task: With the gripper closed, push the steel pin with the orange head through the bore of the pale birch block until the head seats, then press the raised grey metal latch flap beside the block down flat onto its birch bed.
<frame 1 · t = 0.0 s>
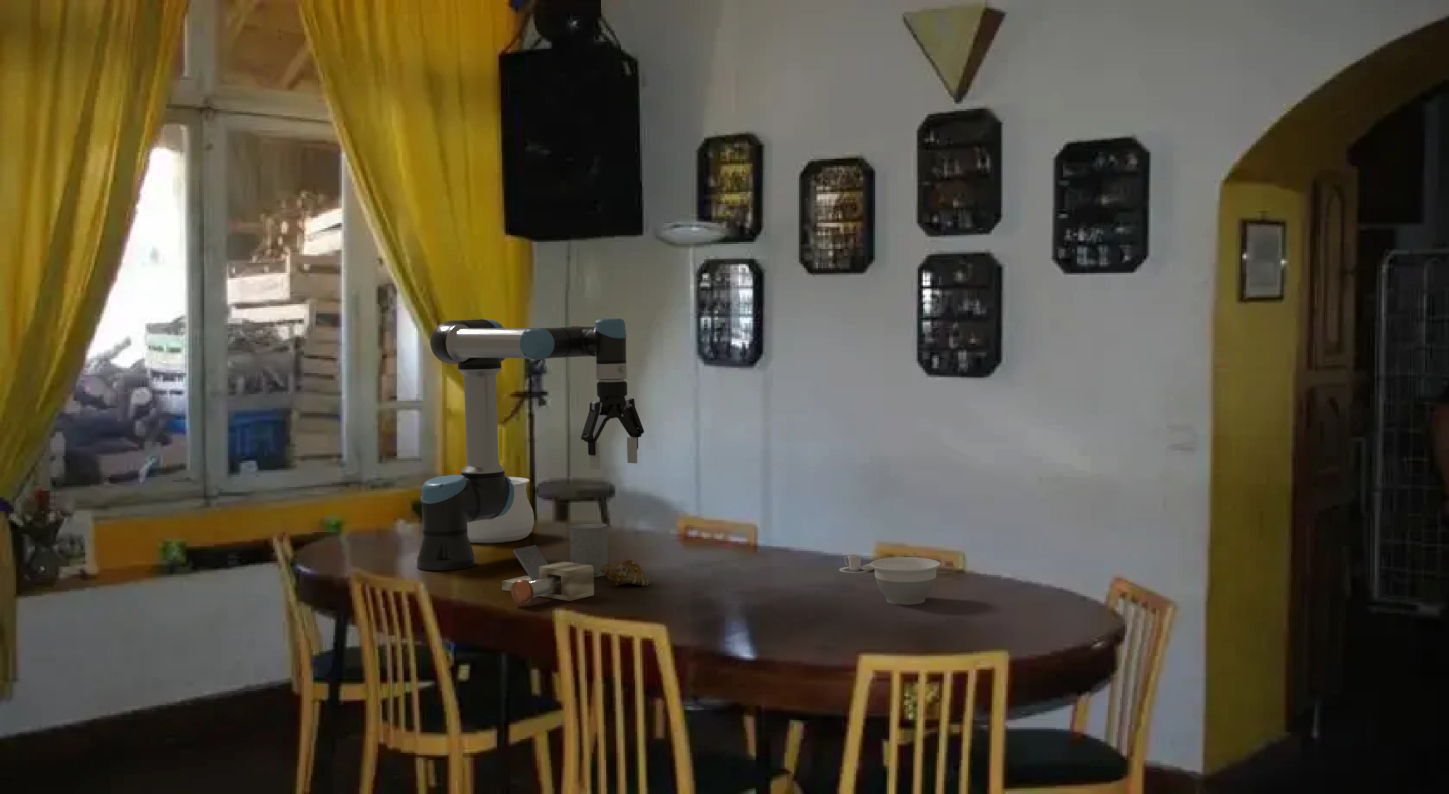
hand: (613, 465, 362), 28 cm above the table, fingers open, 13 cm apart
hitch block: (566, 595, 342), on the table
pin: (541, 587, 336), point 3 cm above the table, slide at -9.0 cm
latch flap: (535, 565, 348), point 6 cm above the table, hinge at 45.0°
bowl: (905, 601, 329), on the table
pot: (492, 538, 429), on the table
seashell: (625, 586, 354), on the table
grey stone cylinder: (589, 574, 370), on the table
teacup and saucer: (859, 574, 365), on the table
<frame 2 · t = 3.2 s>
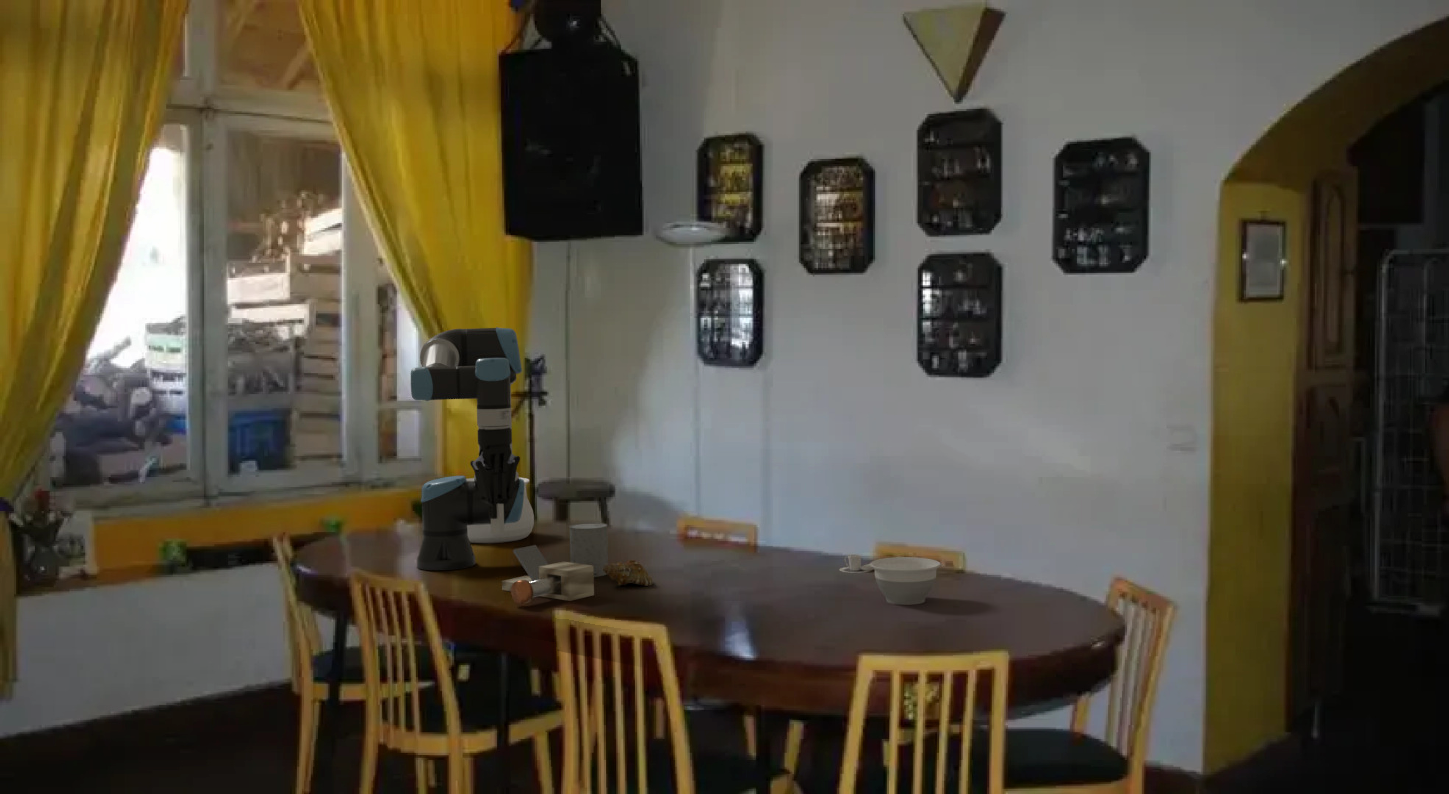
hand: (497, 532, 325), 18 cm above the table, fingers closed
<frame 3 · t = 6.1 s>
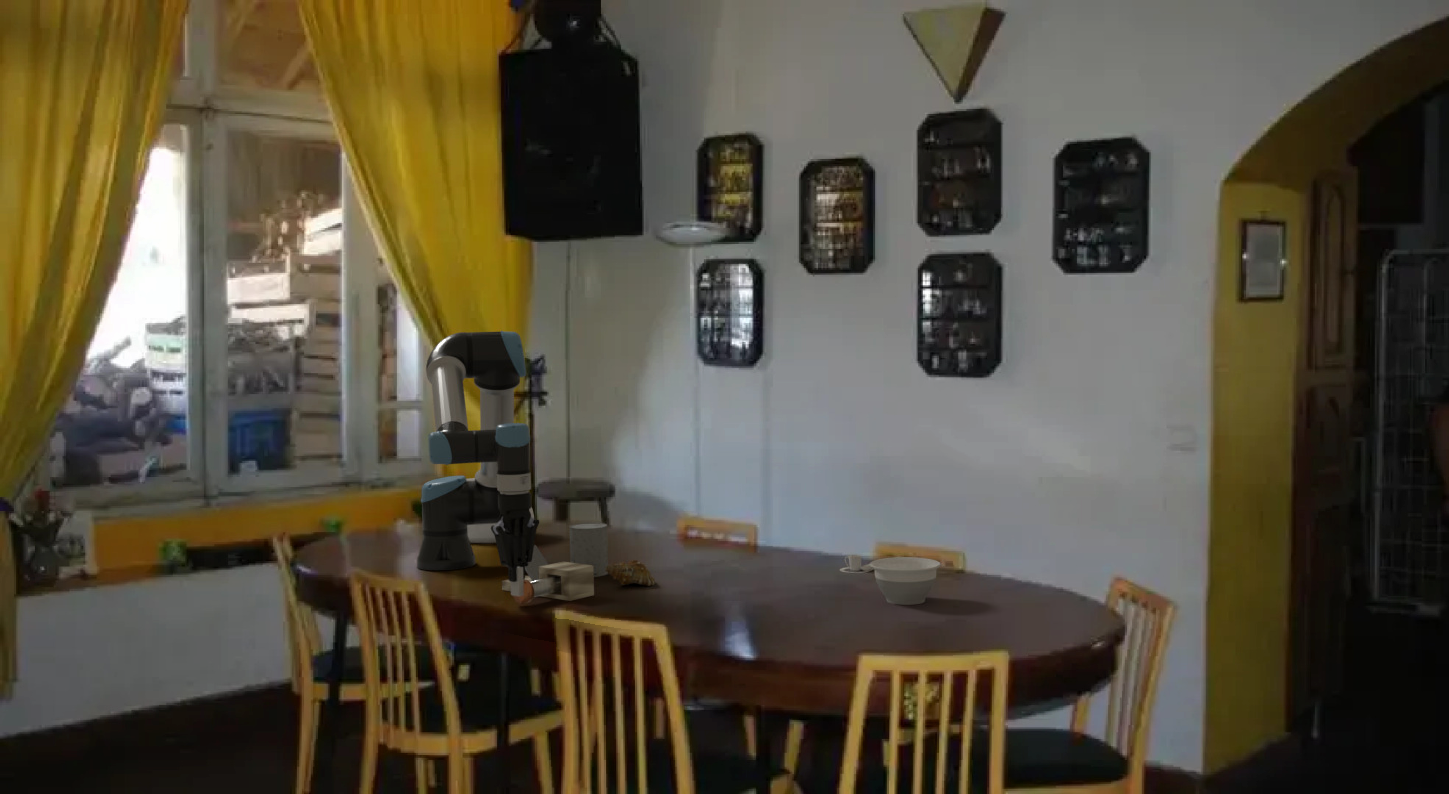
hand: (517, 595, 330), 3 cm above the table, fingers closed
pin: (542, 587, 336), point 3 cm above the table, slide at -8.6 cm, touching gripper
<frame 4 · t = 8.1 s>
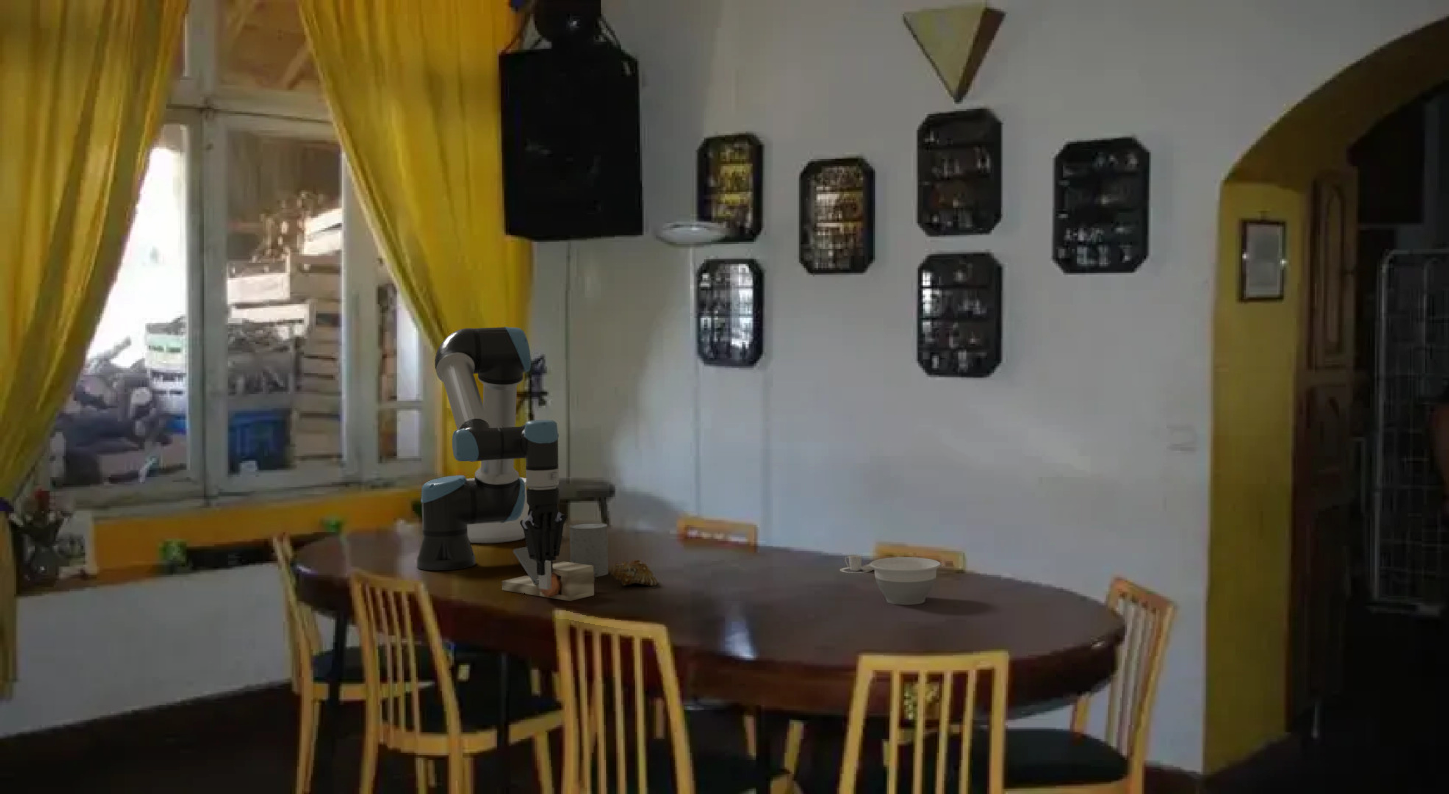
hand: (545, 588, 337), 3 cm above the table, fingers closed
pin: (569, 581, 343), point 3 cm above the table, slide at 0.0 cm, touching gripper
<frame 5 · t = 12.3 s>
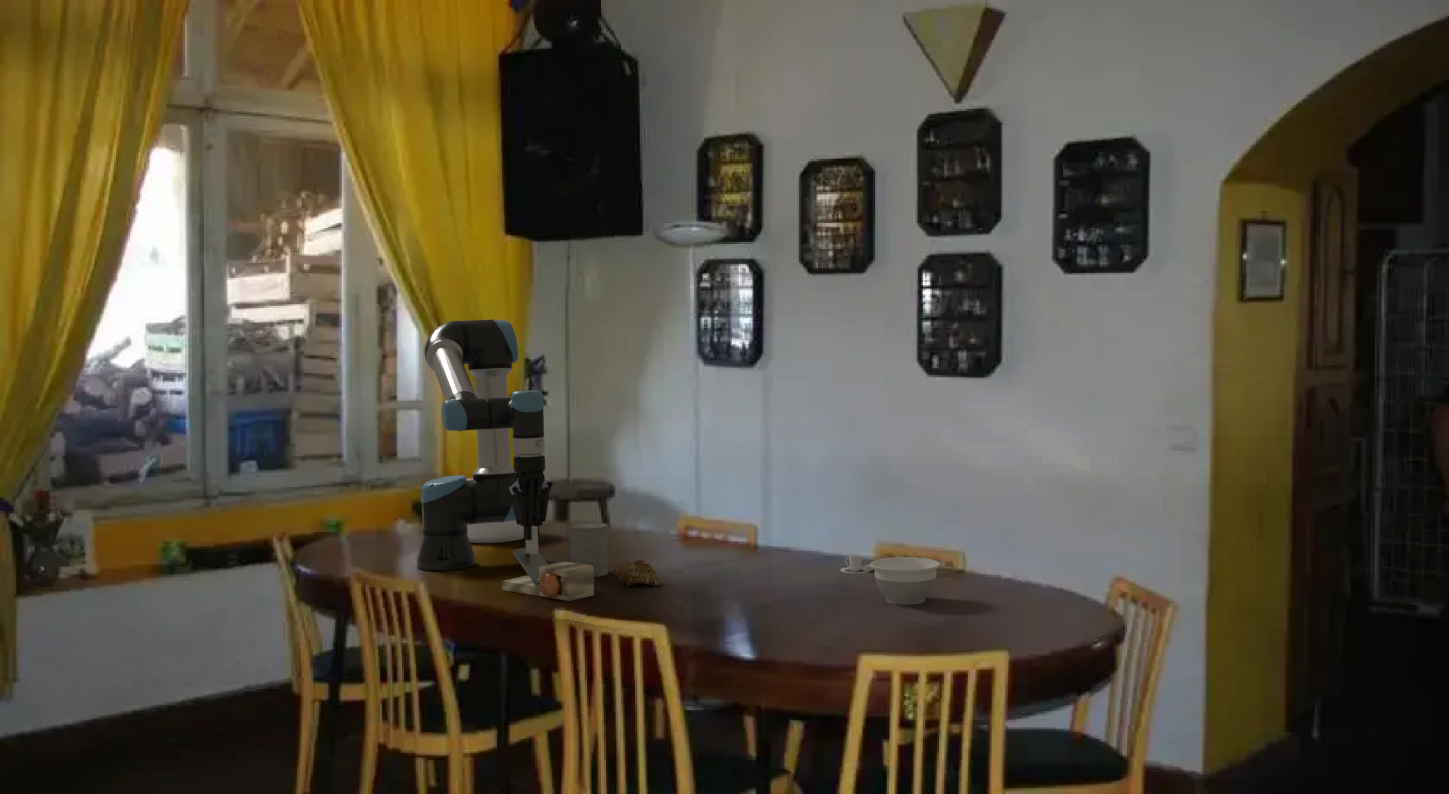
hand: (532, 553, 349), 9 cm above the table, fingers closed
pin: (568, 581, 343), point 3 cm above the table, slide at 0.0 cm
latch flap: (535, 565, 348), point 6 cm above the table, hinge at 43.5°, touching gripper
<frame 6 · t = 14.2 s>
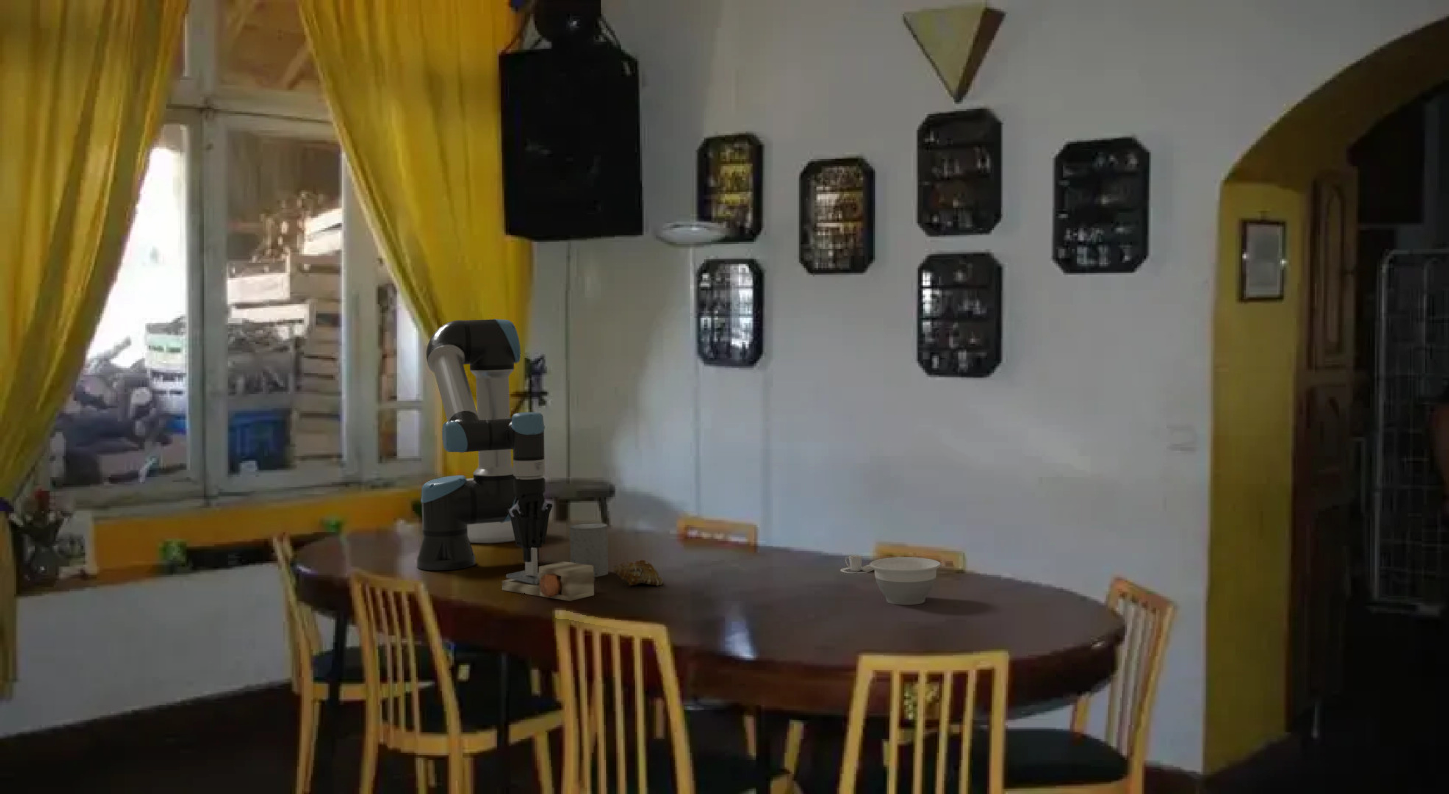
hand: (531, 574, 349), 4 cm above the table, fingers closed
latch flap: (532, 577, 349), point 3 cm above the table, hinge at 3.0°, touching gripper
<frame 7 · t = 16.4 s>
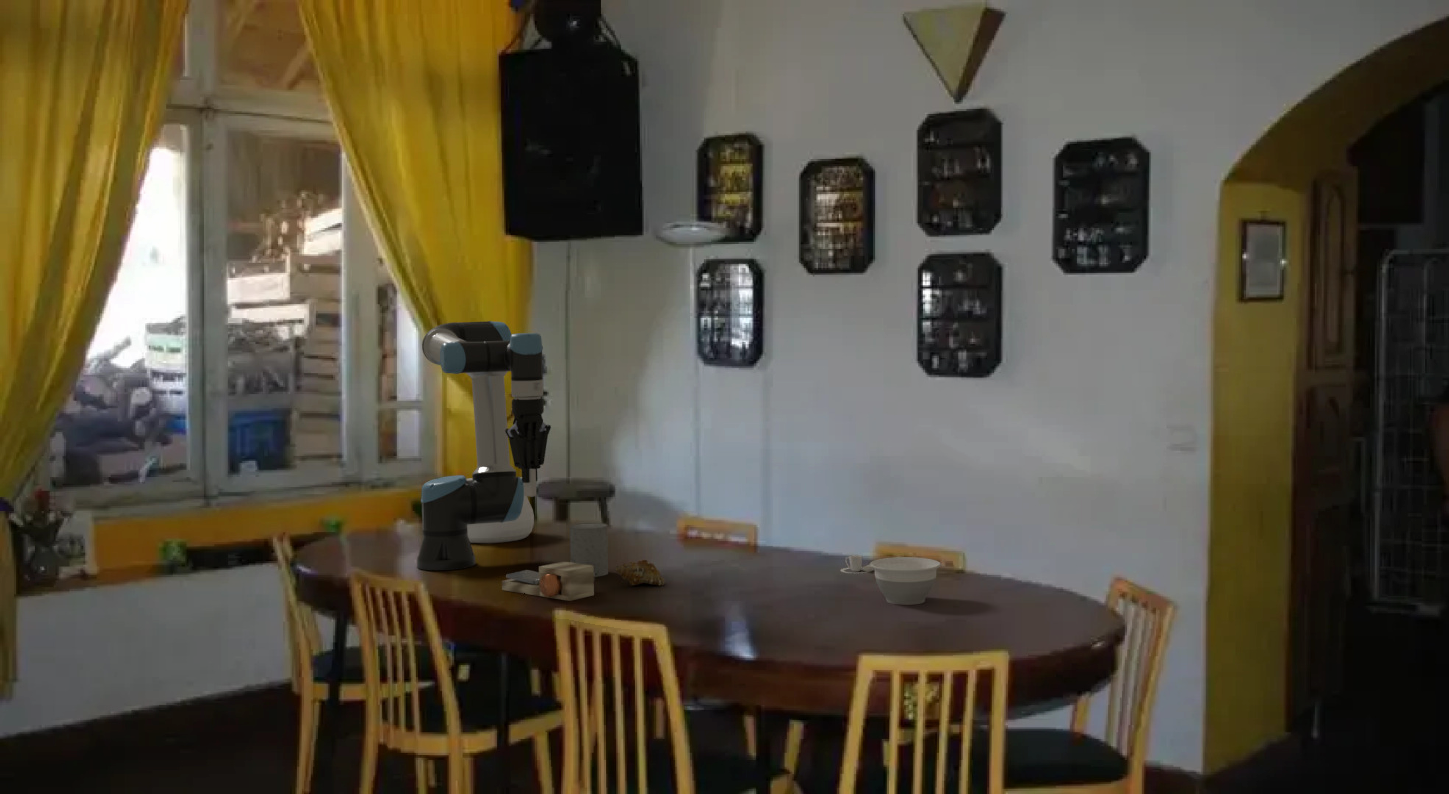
hand: (530, 495, 349), 23 cm above the table, fingers closed
latch flap: (532, 577, 349), point 3 cm above the table, hinge at 3.0°
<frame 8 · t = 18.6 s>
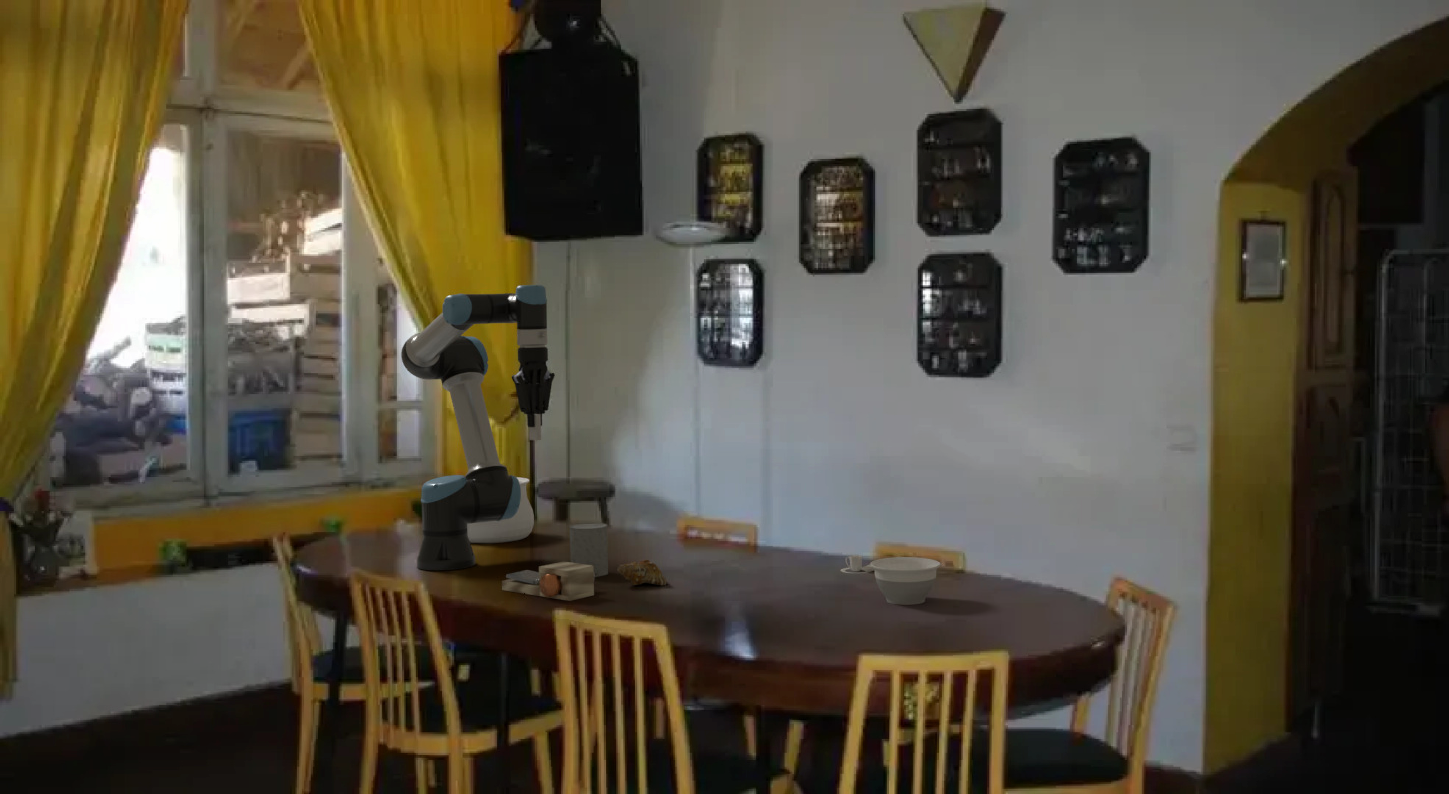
hand: (535, 439, 367), 34 cm above the table, fingers closed
at the end: pin slide at 0.0 cm; latch flap at +3° (first picture: +45°) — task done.
